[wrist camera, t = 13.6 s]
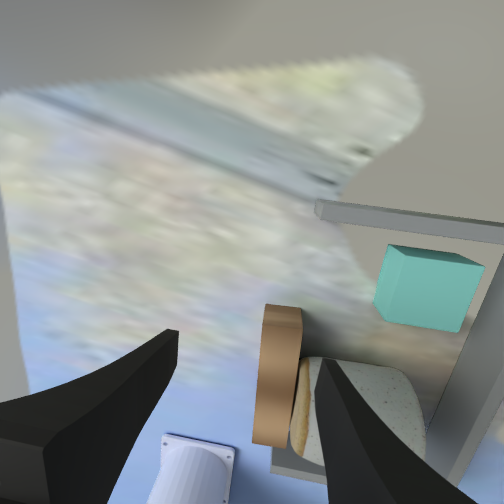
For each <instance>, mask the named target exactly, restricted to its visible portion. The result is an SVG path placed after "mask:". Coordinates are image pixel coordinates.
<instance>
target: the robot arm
mask: <svg viewBox="0 0 504 504" xmlns="http://www.w3.org/2000/svg"><path fill="white" fill-rule="evenodd" d="M178 338H179V331H176V330H171V329H166V330H165V331H163V332H161V333H160V334H158V335H157V336H155V337H154V338H152V339H151V340H149V341H148V342H146V343H145V344H143V345H142V346H140V347H138V348H137V349H135V350H134V351H132V352H130V353H128V354H127V355H125V356H123V357H121V358H120V359H118V360H116V361H114V362H112V363H111V364H109V365H107V366H105V367H103V368H100V369H98V370H96V371H94V372H92V373H90V374H87V375H85V376H82V377H80V378H77V379H75V380H72V381H70V382H68V383H65V384H62V385H59V386H56V387H54V388H51V389H48V390H44V391H41V392H38V393H35V394H32V395H28V396H24V397H21V398H17V399H13V400H10V401H6V402H2V403H0V504H107V502H108V500H109V498H110V495H111V493H112V491H113V489H114V486H115V484H116V482H117V480H118V478H119V476H120V473H121V471H122V469H123V467H124V465H125V462H126V460H127V458H128V456H129V454H130V452H131V450H132V448H133V446H134V444H135V441H136V439H137V437H138V436H139V434H140V432H141V430H142V428H143V426H144V425H145V423H146V421H147V420H148V418H149V416H150V415H151V413H152V411H153V410H154V408H155V406H156V404H157V403H158V401H159V399H160V398H161V396H162V394H163V393H164V391H165V389H166V387H167V386H168V384H169V382H170V380H171V377H172V375H173V373H174V370H175V368H176V366H177V357H178ZM314 398H315V413H316V419H317V425H318V431H319V437H320V442H321V448H322V453H323V459H324V464H325V471H326V478H327V488H328V499H329V504H478V503H476V502H475V501H474V500H472V499H471V498H470V497H468V496H467V495H466V494H464V493H463V492H462V491H460V490H459V489H458V488H456V487H455V486H453V485H452V484H451V483H450V482H448V481H447V480H446V479H445V478H444V477H442V476H441V475H440V474H439V473H437V472H436V471H435V470H434V469H433V468H431V467H430V466H429V465H428V464H427V463H426V462H424V461H423V460H422V459H421V458H420V457H419V456H418V455H417V454H415V453H414V452H413V451H412V450H411V449H410V448H409V447H408V446H407V445H406V444H405V443H404V442H403V441H402V440H400V439H399V438H398V437H397V436H396V435H395V434H394V432H393V431H392V430H391V429H390V428H389V427H388V426H387V425H386V424H385V423H384V422H383V421H382V420H381V419H380V418H379V416H378V415H377V414H376V413H375V412H374V411H373V409H372V408H371V407H370V406H369V405H368V403H367V402H366V401H365V400H364V398H363V397H362V396H361V395H360V393H359V392H358V391H357V389H356V388H355V387H354V385H353V384H352V383H351V381H350V380H349V378H348V377H347V376H346V374H345V373H344V371H343V370H342V368H341V367H340V366H339V364H338V363H337V361H336V360H334V359H328V358H322V362H321V366H320V370H319V374H318V378H317V382H316V386H315V390H314ZM234 455H235V450H234V449H233V448H232V447H227V446H222V445H218V444H213V443H208V442H203V441H198V440H194V439H189V438H184V437H179V436H174V435H170V434H164V435H163V436H162V439H161V469H160V472H159V474H158V477H157V479H156V481H155V484H154V486H153V489H152V491H151V493H150V496H149V498H148V501H147V503H146V504H228V499H229V492H230V485H231V477H232V470H233V462H234Z"/></svg>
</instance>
